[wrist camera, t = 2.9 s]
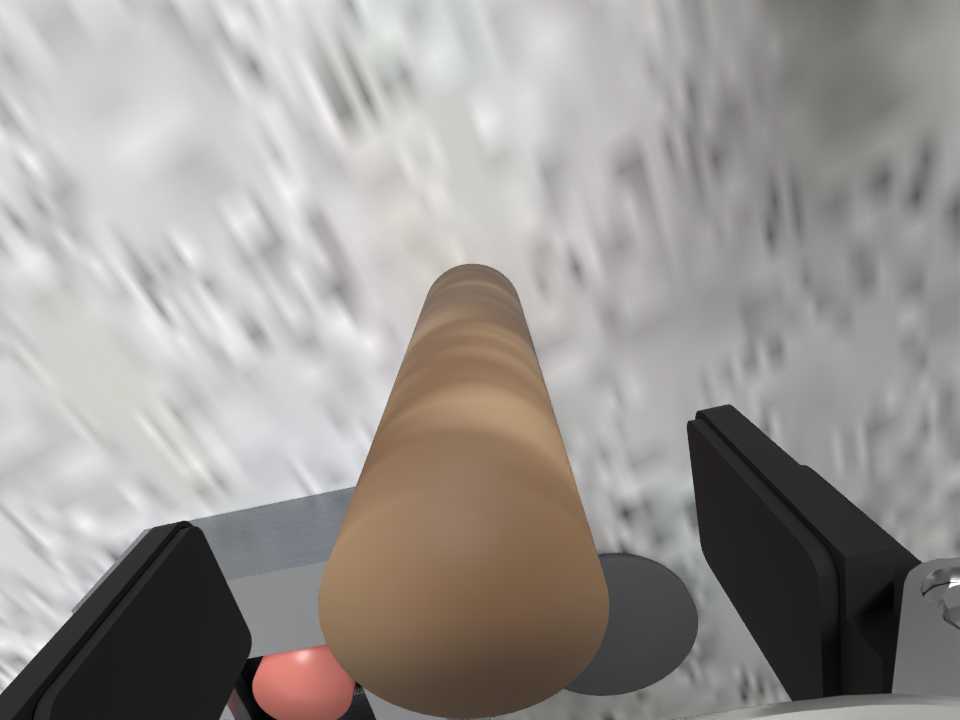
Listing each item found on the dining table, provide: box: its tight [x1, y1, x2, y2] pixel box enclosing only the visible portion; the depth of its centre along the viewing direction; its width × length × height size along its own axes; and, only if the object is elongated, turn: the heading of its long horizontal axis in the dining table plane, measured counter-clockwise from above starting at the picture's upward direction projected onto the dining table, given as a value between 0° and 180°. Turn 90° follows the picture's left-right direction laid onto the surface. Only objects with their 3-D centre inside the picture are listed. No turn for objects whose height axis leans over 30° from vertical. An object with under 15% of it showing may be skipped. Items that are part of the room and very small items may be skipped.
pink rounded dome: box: [252, 644, 356, 720], centre depth 25 cm, size 4×4×2 cm
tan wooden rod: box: [318, 264, 609, 719], centre depth 15 cm, size 4×4×16 cm
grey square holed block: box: [72, 487, 490, 720], centre depth 26 cm, size 14×14×5 cm
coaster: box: [564, 553, 698, 696], centre depth 28 cm, size 9×9×1 cm
